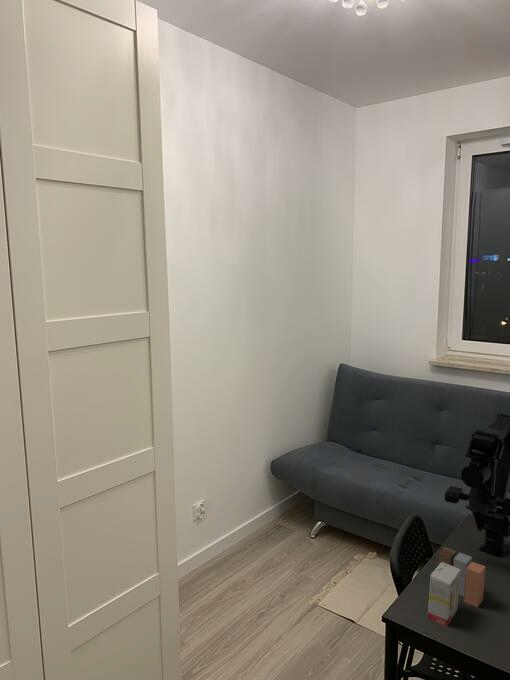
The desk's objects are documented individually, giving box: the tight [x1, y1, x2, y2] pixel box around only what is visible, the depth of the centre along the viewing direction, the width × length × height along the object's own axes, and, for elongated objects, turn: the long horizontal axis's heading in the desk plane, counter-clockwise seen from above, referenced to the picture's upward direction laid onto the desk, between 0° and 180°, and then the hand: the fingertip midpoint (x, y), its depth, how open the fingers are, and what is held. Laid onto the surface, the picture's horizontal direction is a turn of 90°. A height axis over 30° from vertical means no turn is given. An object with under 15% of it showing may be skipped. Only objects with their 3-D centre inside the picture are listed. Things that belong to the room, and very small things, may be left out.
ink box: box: [427, 563, 461, 627], centre depth 124 cm, size 9×5×12 cm, turn 142°
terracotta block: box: [463, 561, 486, 608], centre depth 128 cm, size 4×3×9 cm
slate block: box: [453, 552, 473, 597], centre depth 133 cm, size 4×3×9 cm
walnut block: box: [437, 546, 457, 566], centre depth 135 cm, size 4×3×9 cm
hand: (479, 530), depth 143 cm, fingers closed
